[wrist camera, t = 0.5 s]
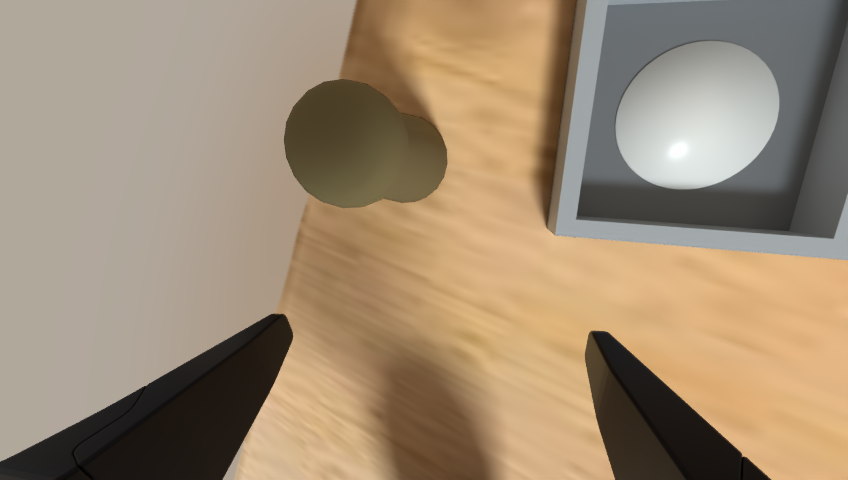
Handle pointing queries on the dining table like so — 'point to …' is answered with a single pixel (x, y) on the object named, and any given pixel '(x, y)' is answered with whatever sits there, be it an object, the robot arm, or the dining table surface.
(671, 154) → the walled pen
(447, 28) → the dining table surface
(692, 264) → the dining table surface
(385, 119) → the cork
